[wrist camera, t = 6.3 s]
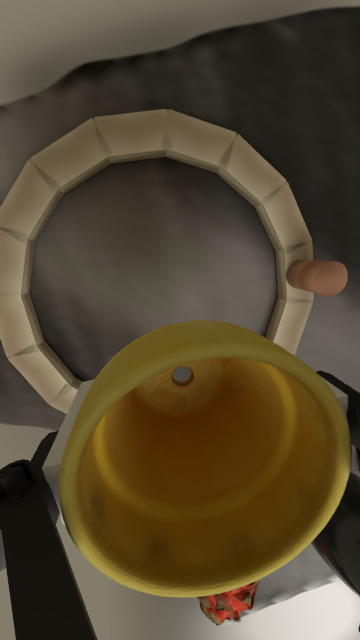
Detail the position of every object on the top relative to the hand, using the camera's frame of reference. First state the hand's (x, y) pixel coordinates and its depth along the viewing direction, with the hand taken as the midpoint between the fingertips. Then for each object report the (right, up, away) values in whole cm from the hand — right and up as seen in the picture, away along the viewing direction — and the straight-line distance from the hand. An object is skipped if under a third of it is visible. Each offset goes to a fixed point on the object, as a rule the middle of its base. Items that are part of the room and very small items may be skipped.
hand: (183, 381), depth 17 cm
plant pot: (0, 0, +2) cm, 2 cm away
